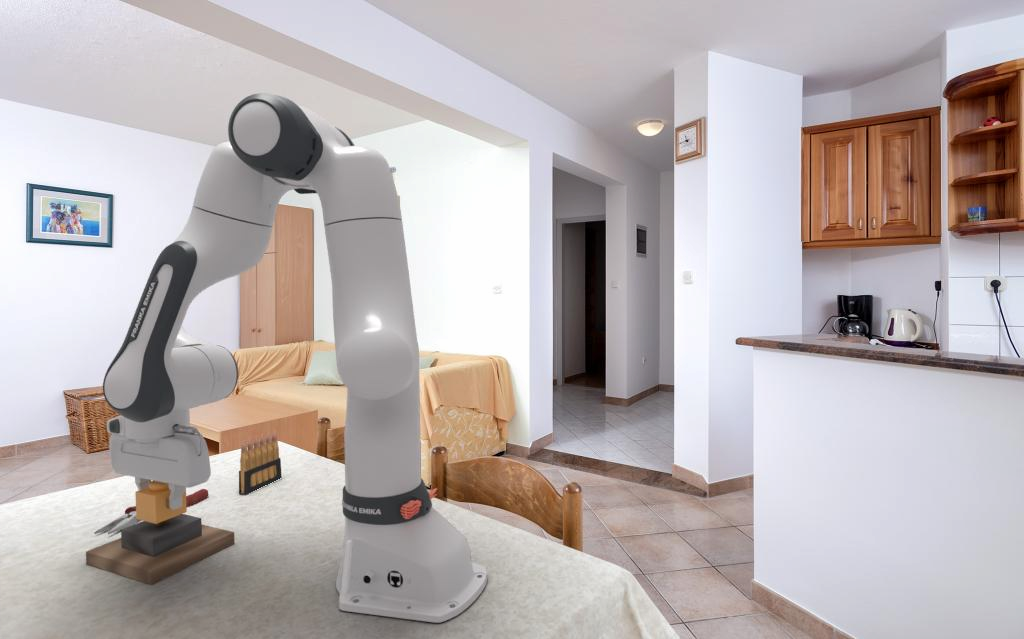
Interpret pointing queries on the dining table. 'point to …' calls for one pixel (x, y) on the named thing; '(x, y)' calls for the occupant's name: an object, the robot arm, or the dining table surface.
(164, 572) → the board
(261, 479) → the ammunition clip
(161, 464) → the robot arm
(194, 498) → the pliers
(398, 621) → the dining table surface
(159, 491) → the orange knobbed cube
